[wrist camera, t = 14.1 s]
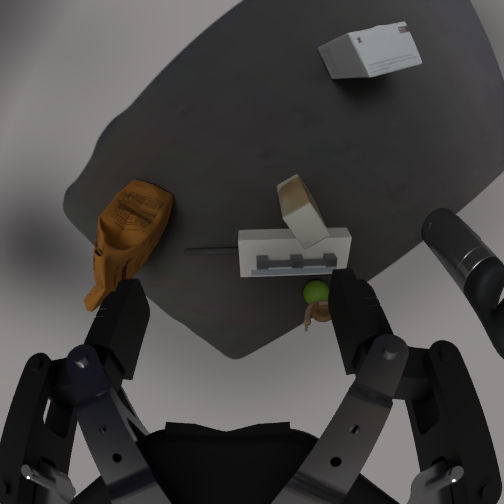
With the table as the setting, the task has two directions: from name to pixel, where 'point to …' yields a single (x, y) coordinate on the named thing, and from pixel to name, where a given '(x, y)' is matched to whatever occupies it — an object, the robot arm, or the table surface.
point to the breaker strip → (283, 251)
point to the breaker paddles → (296, 261)
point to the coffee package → (127, 236)
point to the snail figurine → (316, 302)
